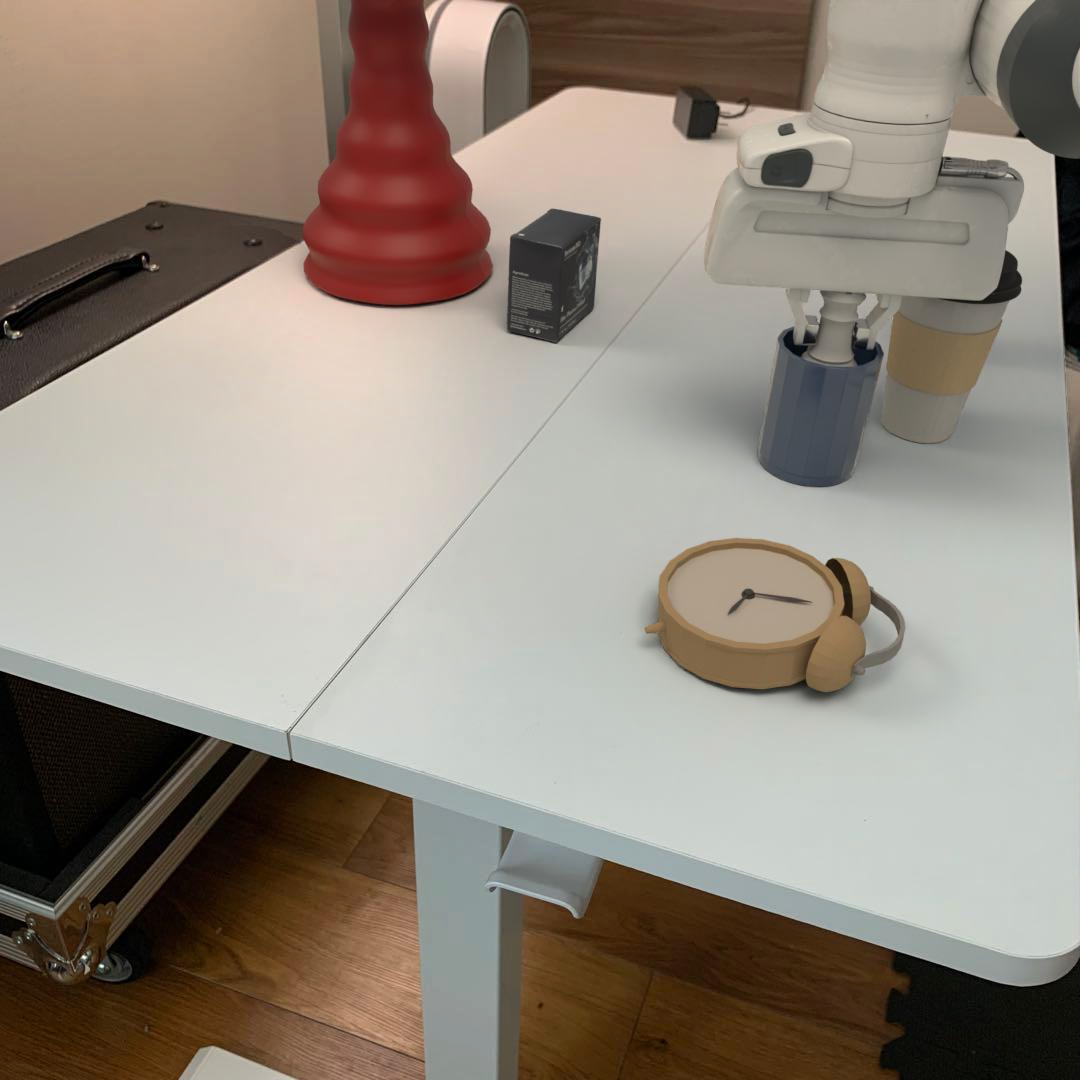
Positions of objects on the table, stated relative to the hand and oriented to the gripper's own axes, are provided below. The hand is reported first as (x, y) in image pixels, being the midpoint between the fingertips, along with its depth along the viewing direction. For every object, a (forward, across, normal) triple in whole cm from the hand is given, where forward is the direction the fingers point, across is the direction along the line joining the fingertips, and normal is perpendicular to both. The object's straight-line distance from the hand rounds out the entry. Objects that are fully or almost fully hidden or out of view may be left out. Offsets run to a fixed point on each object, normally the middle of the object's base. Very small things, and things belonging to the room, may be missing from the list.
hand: (832, 344), depth 79 cm
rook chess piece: (+3, 0, 0) cm, 3 cm away
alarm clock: (+10, +5, +22) cm, 25 cm away
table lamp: (+10, +39, -33) cm, 52 cm away
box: (+10, +22, -23) cm, 33 cm away
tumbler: (+10, 0, 0) cm, 10 cm away
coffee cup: (+10, -10, -7) cm, 16 cm away
